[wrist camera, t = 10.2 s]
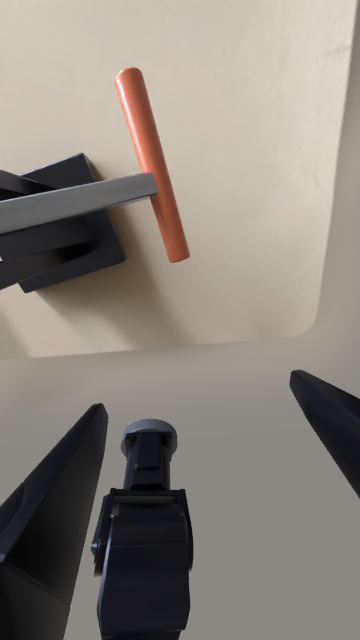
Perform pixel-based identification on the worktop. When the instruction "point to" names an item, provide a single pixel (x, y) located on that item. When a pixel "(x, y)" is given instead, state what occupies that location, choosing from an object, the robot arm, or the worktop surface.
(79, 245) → the bracket
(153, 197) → the lever
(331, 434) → the robot arm
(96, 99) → the worktop surface
